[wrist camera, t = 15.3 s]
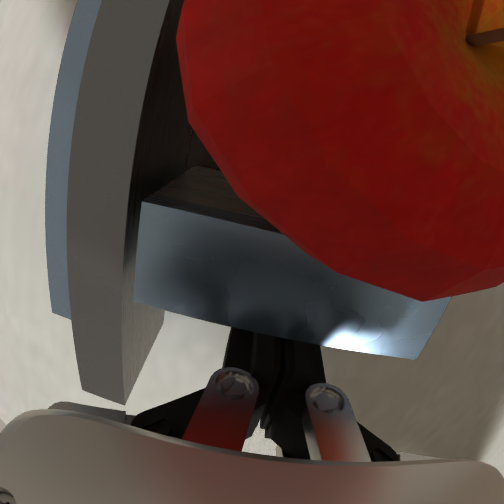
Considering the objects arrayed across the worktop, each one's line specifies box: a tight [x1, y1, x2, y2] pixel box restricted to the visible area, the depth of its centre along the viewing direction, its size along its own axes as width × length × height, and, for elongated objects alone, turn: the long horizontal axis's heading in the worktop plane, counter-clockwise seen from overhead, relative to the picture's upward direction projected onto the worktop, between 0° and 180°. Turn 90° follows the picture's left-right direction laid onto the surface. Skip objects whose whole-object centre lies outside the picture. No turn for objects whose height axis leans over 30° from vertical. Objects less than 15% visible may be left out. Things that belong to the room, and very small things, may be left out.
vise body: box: [45, 0, 193, 405], centre depth 10 cm, size 16×22×6 cm
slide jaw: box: [134, 165, 452, 360], centre depth 11 cm, size 9×3×6 cm, turn 77°
